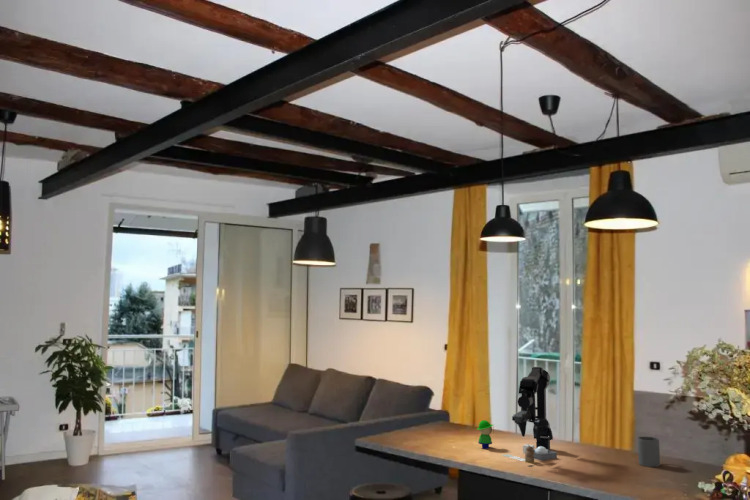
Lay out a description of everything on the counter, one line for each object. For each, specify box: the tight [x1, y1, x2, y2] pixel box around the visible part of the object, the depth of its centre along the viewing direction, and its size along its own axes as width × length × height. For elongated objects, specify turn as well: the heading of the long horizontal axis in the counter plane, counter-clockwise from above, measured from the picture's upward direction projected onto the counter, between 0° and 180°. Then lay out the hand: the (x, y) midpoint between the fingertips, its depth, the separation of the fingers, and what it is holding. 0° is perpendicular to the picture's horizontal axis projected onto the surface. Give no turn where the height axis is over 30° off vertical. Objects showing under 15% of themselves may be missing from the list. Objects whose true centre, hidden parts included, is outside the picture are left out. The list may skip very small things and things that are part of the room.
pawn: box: [524, 446, 535, 464], centre depth 292 cm, size 4×4×7 cm
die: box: [522, 443, 535, 454], centre depth 310 cm, size 4×4×4 cm
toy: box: [476, 420, 495, 450], centre depth 323 cm, size 9×9×15 cm
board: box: [501, 453, 537, 468], centre depth 301 cm, size 20×22×1 cm
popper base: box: [534, 449, 558, 462], centre depth 301 cm, size 10×10×3 cm
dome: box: [534, 446, 548, 454], centre depth 301 cm, size 6×6×5 cm
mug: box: [637, 436, 661, 468], centre depth 293 cm, size 14×9×12 cm
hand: (530, 438), depth 299 cm, fingers open, 9 cm apart
